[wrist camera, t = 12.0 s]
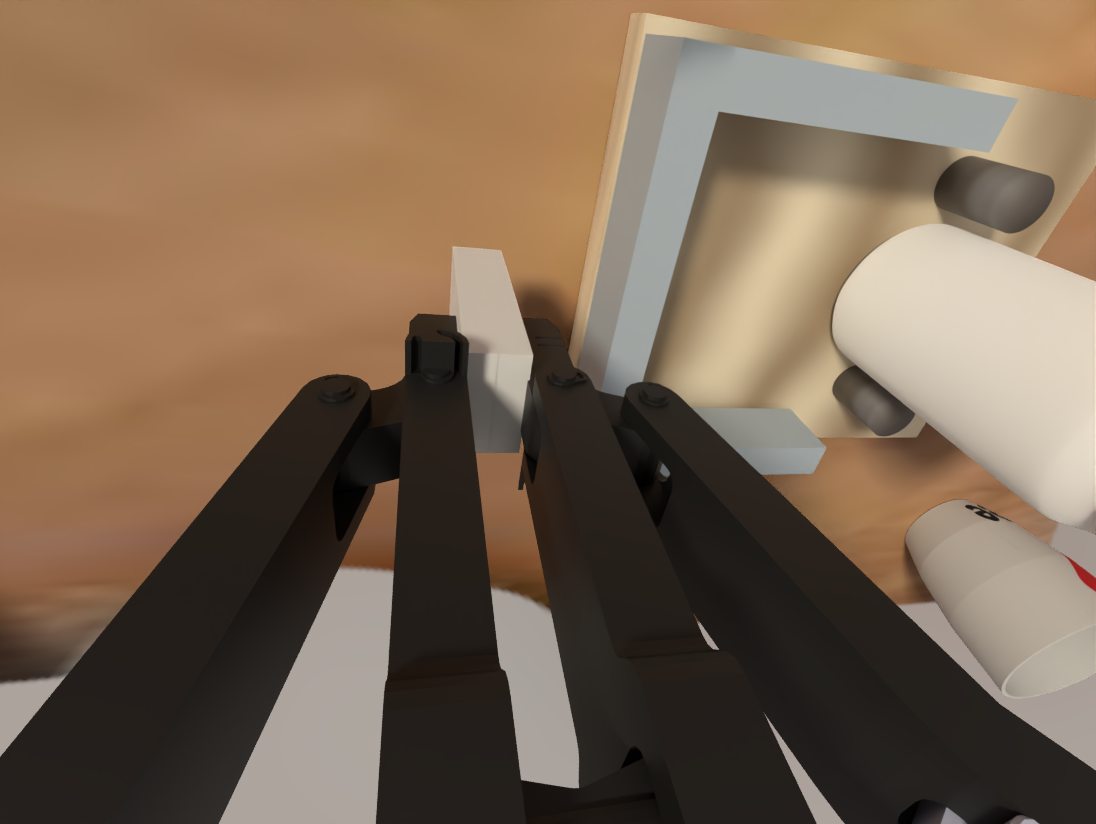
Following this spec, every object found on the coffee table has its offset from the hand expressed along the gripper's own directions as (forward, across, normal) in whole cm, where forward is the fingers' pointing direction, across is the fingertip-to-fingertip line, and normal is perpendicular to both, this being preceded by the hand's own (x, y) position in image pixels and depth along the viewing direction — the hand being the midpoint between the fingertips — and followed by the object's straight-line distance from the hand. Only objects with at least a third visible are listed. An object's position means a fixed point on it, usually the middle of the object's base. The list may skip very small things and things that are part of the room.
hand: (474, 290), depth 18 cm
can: (+3, +19, 0) cm, 19 cm away
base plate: (+4, +15, 0) cm, 15 cm away
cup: (+5, +34, -17) cm, 38 cm away
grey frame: (+2, +10, 0) cm, 11 cm away
